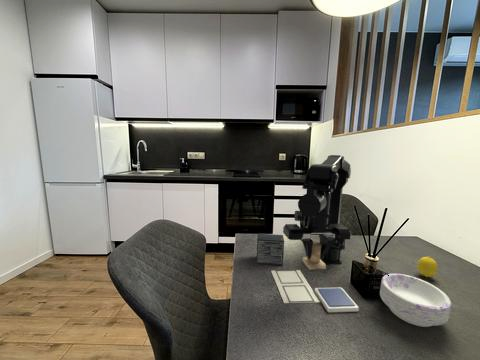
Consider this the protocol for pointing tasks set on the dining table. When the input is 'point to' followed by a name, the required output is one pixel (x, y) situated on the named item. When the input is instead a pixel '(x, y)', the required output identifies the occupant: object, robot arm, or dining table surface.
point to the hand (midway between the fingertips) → (314, 258)
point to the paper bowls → (415, 300)
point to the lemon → (427, 266)
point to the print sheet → (294, 287)
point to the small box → (270, 249)
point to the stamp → (314, 259)
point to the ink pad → (336, 300)
